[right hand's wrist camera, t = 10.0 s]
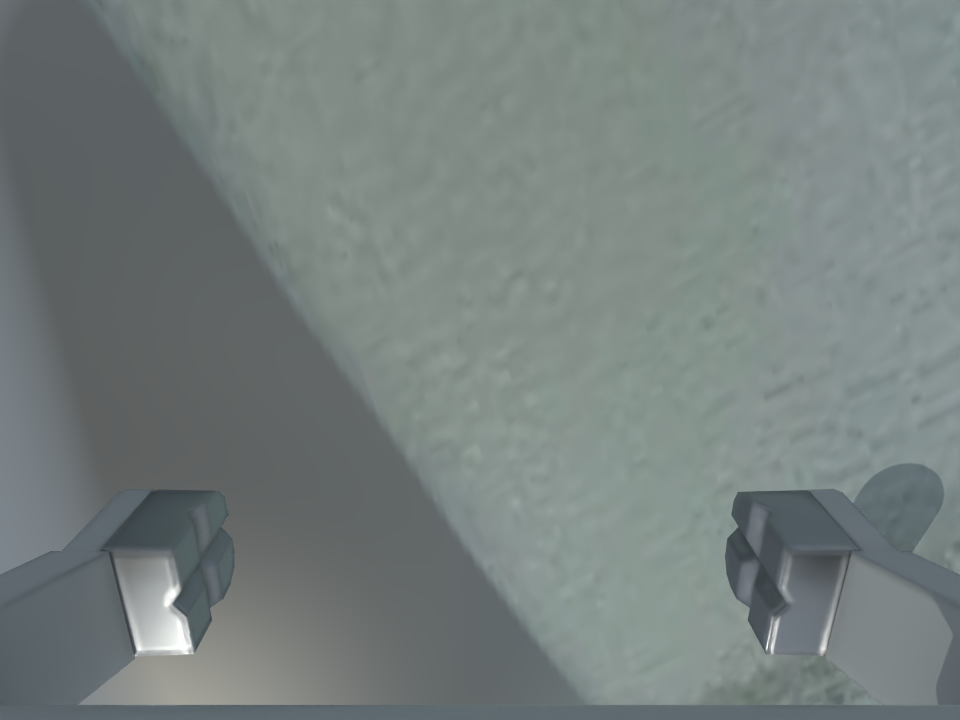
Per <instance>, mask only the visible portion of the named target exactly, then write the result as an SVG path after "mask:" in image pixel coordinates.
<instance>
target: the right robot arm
mask: <svg viewBox="0 0 960 720" xmlns="http://www.w3.org/2000/svg"><path fill="white" fill-rule="evenodd" d="M731 515H732V516H733V518H734V520H735V521H736V523H737V525H738V526H739V527H738V528H737V529H736V530H735V531H734V532H733V533H732V534H731V535H730V536H729V537H728V538H727V546H726V554H725V560H726V571H727V576H728V580H729V583H730V586H731V589H732V591H733V593H734V595H735V597H736V599H738V600H739V601H741V602H742V603H744V604H745V605H747V606H748V607H750V611H749V617H748V621H749V623H750V625H751V627H752V629H753V631H754V633H755V634H756V636H757V638H758V640H759V642H760V644H761V646H762V647H763V649H764V651H765V653H766V654H777V655H814V656H825V659H826V660H827V661H829V662H830V663H831V664H832V665H834V666H835V667H836V668H837V669H839V670H840V671H841V672H842V673H844V674H845V675H846V676H847V677H849V678H850V679H851V680H852V681H854V682H855V683H856V684H857V685H859V686H860V687H861V688H862V689H864V690H865V691H866V692H867V693H869V694H870V695H871V696H872V697H873V698H875V699H876V700H877V701H878V702H880V703H881V704H882V705H78V704H79V703H80V702H82V701H83V700H84V699H85V698H87V697H88V696H89V695H90V694H92V693H93V692H94V691H95V690H97V689H98V688H99V687H100V686H102V685H103V684H104V683H105V682H107V681H108V680H109V679H110V678H112V677H113V676H114V675H115V674H117V673H118V672H119V671H120V670H122V669H123V668H124V667H125V666H127V665H128V664H129V663H130V662H132V661H133V660H134V659H135V656H146V655H181V654H194V653H195V651H196V649H197V647H198V646H199V644H200V642H201V640H202V638H203V636H204V634H205V633H206V631H207V629H208V627H209V625H210V623H211V621H212V617H211V611H210V607H212V606H213V605H215V604H216V603H218V602H219V601H221V600H222V599H224V596H225V594H226V592H227V590H228V588H229V586H230V584H231V579H232V575H233V570H234V545H233V539H232V537H231V536H230V535H229V534H228V533H227V532H226V531H225V530H224V529H223V528H222V527H221V526H222V525H223V523H224V521H225V520H226V518H227V516H228V509H227V504H226V500H225V496H224V495H223V494H222V493H221V492H220V491H202V490H154V489H136V490H124V491H119V492H118V493H117V494H116V495H115V496H114V497H113V498H112V499H111V500H110V501H109V502H108V503H107V504H106V505H105V506H104V507H103V508H102V510H101V511H100V512H99V513H98V514H97V515H96V516H95V517H94V518H93V519H92V520H91V521H90V522H89V523H88V524H87V525H86V526H85V527H84V528H83V529H82V530H81V531H80V532H79V533H78V534H77V535H76V537H75V538H74V539H73V540H72V541H71V542H70V543H69V544H68V545H67V546H66V547H65V548H64V549H63V550H62V551H50V552H48V553H46V554H44V555H42V556H39V557H37V558H35V559H33V560H31V561H29V562H27V563H24V564H22V565H20V566H18V567H16V568H14V569H11V570H9V571H7V572H5V573H3V574H1V575H0V720H960V575H959V574H957V573H955V572H953V571H951V570H949V569H946V568H944V567H942V566H940V565H938V564H936V563H933V562H931V561H929V560H927V559H925V558H923V557H920V556H918V555H916V554H914V553H912V552H910V551H898V550H897V549H896V548H895V547H894V546H893V545H892V544H891V543H890V542H889V541H888V540H887V539H886V538H885V536H884V535H883V534H882V533H881V532H880V531H879V530H878V529H877V528H876V527H875V526H874V525H873V524H872V523H871V522H870V521H869V520H868V519H867V518H866V517H865V516H864V515H863V514H862V512H861V511H860V510H859V509H858V508H857V507H856V506H855V505H854V504H853V503H852V502H851V501H850V500H849V499H848V498H847V497H846V496H845V495H844V494H843V493H842V492H840V491H838V490H835V489H819V490H796V491H757V492H738V493H737V495H736V497H735V500H734V503H733V508H732V514H731Z"/></svg>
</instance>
